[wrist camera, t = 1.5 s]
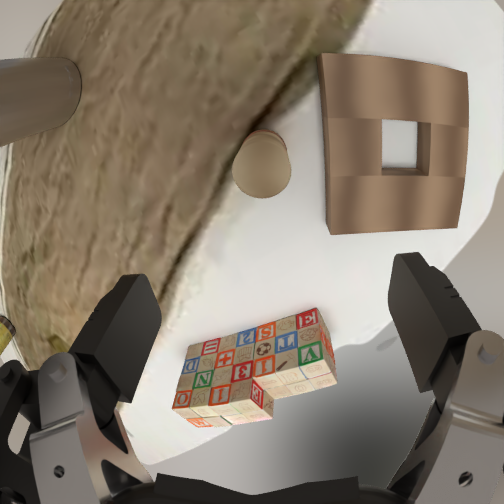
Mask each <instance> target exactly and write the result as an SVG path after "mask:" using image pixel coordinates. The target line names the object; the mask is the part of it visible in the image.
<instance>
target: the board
mask: <svg viewBox="0 0 504 504" xmlns="http://www.w3.org/2000/svg"><path fill="white" fill-rule="evenodd" d="M316 58H317V66H318V76H319V85H320V96H321V108H322V122H323V138H324V157H325V187H326V224H327V227H328V229H329V232H330V235H340V234H356V233H373V232H391V231H409V230H428V229H448V228H457V226H458V220H459V215H460V209H461V203H462V197H463V190H464V182H465V174H466V164H467V151H468V131H469V96H468V77H467V73H466V72H462V71H459V70H455V69H451V68H446V67H442V66H437V65H433V64H428V63H422V62H417V61H411V60H405V59H398V58H390V57H381V56H371V55H358V54H338V53H321V54H320V55H319V56H318V57H316ZM381 119H390V120H405V121H417V122H418V142H417V167H416V168H382V120H381Z"/></svg>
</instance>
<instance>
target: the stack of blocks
mask: <svg viewBox="0 0 504 504" xmlns="http://www.w3.org/2000/svg"><path fill="white" fill-rule="evenodd" d="M335 384H337V375H336V368H335V360H334V354H333V349H332V343H331V338H330V334H329V332H328V330H327V328H326V326H325V323H324V321H323V319H322V317H321V315H320V313H319V311H318V309H317V308H315V309H312V310H309V311H306V312H303V313H301V314H298V315H293V316H290V317H287V318H284V319H281V320H278V321H275V322H271V323H268V324H265V325H261V326H258V327H257V328H253V329H249V330H246V331H243V332H239V333H236V334H233V335H229V336H226V337H222V338H217V339H214V340H210V341H206V342H202V343H198V344H194V345H190V346H189V348H188V351H187V355H186V358H185V363H184V366H183V370H182V373H181V376H180V378H179V382H178V385H177V389H176V395H175V399H174V402H173V406H172V410H173V411H175V412H176V413H177V414H179V415H180V416H182V417H183V418H184V419H186V420H187V421H189V422H190V423H192V424H193V425H195V426H196V427H211V426H214V427H222V426H231V425H232V424H233V425H236V424H243V423H250V422H256V421H262V420H268V419H272V418H273V406H274V400H275V399H279V398H284V397H288V396H292V395H298V394H302V393H306V392H310V391H314V390H316V389H320V388H324V387H328V386H331V385H335Z"/></svg>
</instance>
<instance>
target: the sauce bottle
mask: <svg viewBox="0 0 504 504" xmlns="http://www.w3.org/2000/svg"><path fill="white" fill-rule="evenodd" d="M14 335H15V329H14V327H13V326H12V325H11V323H10V322H9V321H8V320H7V319H6V318H4V317H2V316H0V355H1V354H2V352H3V351H4V349H5V348H6V347H7V345H8V344H9V342H10V341H11V339H12V337H13V336H14Z"/></svg>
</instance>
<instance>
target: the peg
mask: <svg viewBox="0 0 504 504" xmlns="http://www.w3.org/2000/svg"><path fill="white" fill-rule="evenodd" d="M232 174H233V178H234V181H235V183H236V185H237V186H238V187H239V188H240V190H242V191H243V192H244V193H246V194H247V195H249V196H252V197H255V198H269V197H273V196H275V195H277V194H279V193H280V192H281V191H282V190H283V189H284V188H285V187H286V186H287V184H288V182H289V180H290V177H291V165H290V161H289V158H288V154H287V149H286V145H285V143H284V141H283V139H282V138H281V137H280V136H279V135H278V134H277V133H276V132H274V131H271V130H267V129H261V130H257V131H254V132H253V133H251V134H250V135H249V136H248V137H247V138H246V139H245V140H244V142H243V144H242V147H241V148H240V150H239V152H238V154H237V156H236V157H235V159H234V162H233V166H232Z"/></svg>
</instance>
